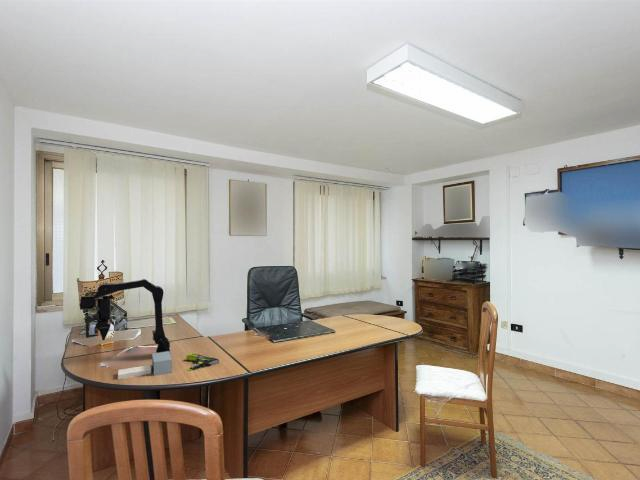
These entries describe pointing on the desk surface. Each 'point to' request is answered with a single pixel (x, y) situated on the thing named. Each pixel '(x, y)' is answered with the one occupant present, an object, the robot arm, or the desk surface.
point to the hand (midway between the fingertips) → (104, 337)
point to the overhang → (162, 363)
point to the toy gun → (201, 361)
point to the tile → (134, 371)
